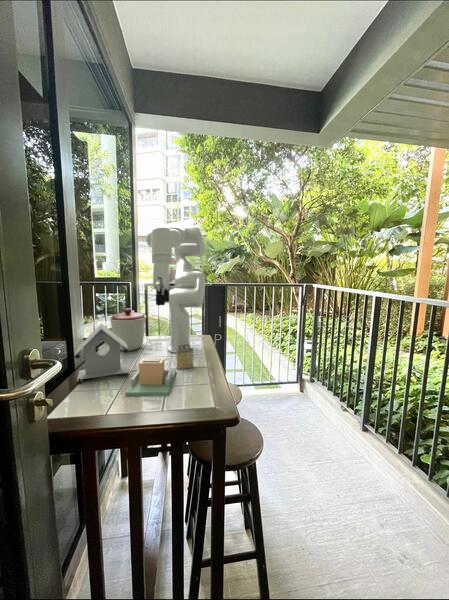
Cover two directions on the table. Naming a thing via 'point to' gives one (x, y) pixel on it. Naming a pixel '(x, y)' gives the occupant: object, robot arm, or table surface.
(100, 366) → the grey nesting box
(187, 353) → the lighter
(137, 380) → the green walled tray
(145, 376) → the chute block
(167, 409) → the table surface
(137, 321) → the canister
